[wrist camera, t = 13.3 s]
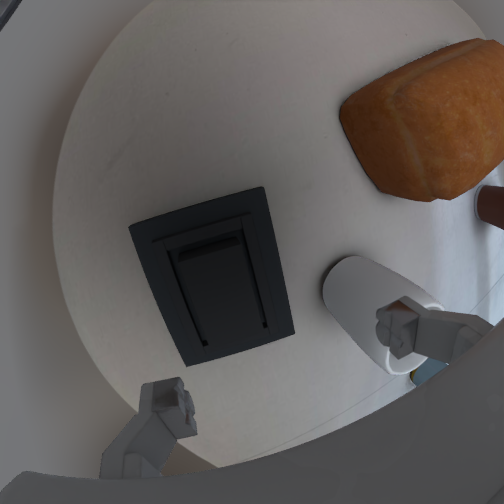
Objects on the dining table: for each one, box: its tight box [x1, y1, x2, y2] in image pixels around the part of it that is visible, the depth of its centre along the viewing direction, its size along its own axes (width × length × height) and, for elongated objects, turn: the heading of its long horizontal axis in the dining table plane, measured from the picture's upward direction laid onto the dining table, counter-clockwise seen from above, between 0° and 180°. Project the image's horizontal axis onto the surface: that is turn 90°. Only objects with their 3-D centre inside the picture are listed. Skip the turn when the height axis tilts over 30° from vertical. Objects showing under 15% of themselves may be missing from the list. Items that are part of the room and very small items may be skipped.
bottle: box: [411, 357, 448, 386], centre depth 38 cm, size 7×7×15 cm
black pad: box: [178, 236, 264, 348], centre depth 28 cm, size 10×6×3 cm, turn 14°
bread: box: [340, 38, 504, 202], centre depth 22 cm, size 14×33×16 cm, turn 126°
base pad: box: [128, 187, 295, 367], centre depth 29 cm, size 18×14×2 cm
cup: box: [323, 256, 445, 375], centre depth 27 cm, size 8×8×14 cm
